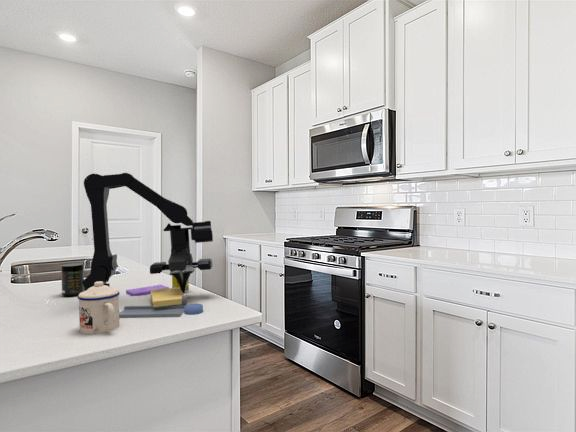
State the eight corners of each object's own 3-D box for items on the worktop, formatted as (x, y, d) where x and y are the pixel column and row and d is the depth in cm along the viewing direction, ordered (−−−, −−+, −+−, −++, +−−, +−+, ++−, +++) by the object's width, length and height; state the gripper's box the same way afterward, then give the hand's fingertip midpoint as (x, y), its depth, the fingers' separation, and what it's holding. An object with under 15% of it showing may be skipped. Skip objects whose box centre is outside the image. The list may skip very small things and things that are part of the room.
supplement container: (88, 294, 128) (87, 264, 128) (68, 298, 123) (67, 266, 122) (78, 292, 132) (77, 262, 132) (57, 296, 126) (57, 265, 126)
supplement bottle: (175, 294, 126) (174, 264, 126) (170, 291, 131) (169, 262, 130) (191, 292, 129) (190, 262, 129) (186, 289, 134) (185, 261, 134)
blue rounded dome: (182, 316, 101) (182, 308, 101) (187, 311, 106) (186, 303, 106) (200, 316, 101) (200, 308, 101) (204, 311, 106) (204, 303, 106)
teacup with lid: (72, 330, 91) (71, 282, 90) (111, 321, 97) (110, 276, 97) (92, 341, 83) (90, 289, 82) (132, 331, 89) (131, 282, 89)
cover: (150, 295, 119) (150, 287, 119) (180, 292, 123) (179, 285, 123) (153, 308, 104) (153, 299, 104) (187, 304, 108) (187, 296, 108)
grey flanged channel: (111, 319, 99) (111, 314, 99) (125, 309, 108) (125, 305, 108) (179, 318, 99) (179, 313, 99) (188, 308, 108) (188, 304, 108)
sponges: (169, 292, 132) (169, 287, 132) (132, 298, 123) (132, 293, 123) (161, 289, 137) (160, 284, 137) (125, 295, 129) (125, 289, 129)
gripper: (142, 249, 110) (146, 301, 111) (206, 244, 112) (210, 296, 112) (152, 245, 121) (156, 292, 122) (211, 241, 123) (214, 288, 123)
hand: (183, 292), depth 119 cm, fingers closed
